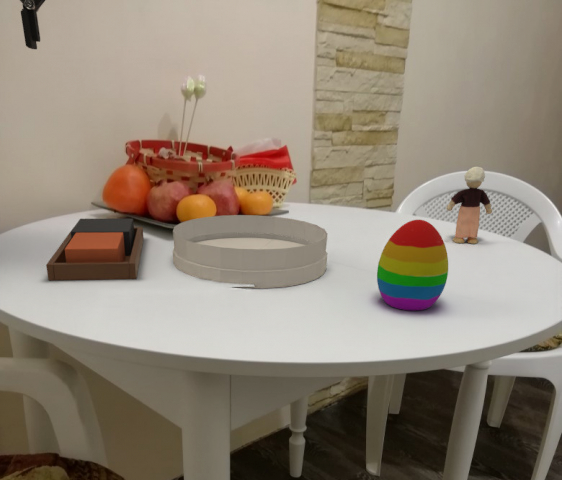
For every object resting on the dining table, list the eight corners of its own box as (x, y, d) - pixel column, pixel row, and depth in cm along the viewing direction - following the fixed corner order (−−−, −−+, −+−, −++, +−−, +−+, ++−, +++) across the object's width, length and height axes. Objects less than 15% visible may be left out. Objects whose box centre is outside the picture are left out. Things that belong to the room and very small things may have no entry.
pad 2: (68, 276, 69) (64, 248, 68) (79, 257, 77) (75, 232, 76) (120, 275, 70) (117, 248, 69) (125, 256, 78) (123, 232, 77)
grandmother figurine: (478, 239, 100) (492, 165, 94) (487, 244, 96) (503, 168, 90) (437, 239, 99) (450, 164, 93) (446, 244, 95) (459, 167, 90)
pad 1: (73, 256, 78) (70, 231, 76) (82, 241, 86) (79, 218, 84) (131, 255, 79) (129, 231, 77) (135, 240, 87) (133, 218, 86)
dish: (212, 240, 91) (211, 210, 89) (340, 255, 86) (343, 223, 84) (143, 275, 73) (140, 238, 70) (302, 297, 67) (305, 257, 65)
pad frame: (49, 285, 68) (45, 264, 67) (75, 243, 87) (73, 226, 85) (136, 283, 70) (134, 263, 68) (143, 243, 88) (142, 226, 87)
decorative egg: (399, 288, 72) (410, 210, 67) (454, 305, 66) (470, 222, 62) (360, 301, 66) (369, 217, 62) (416, 320, 61) (430, 230, 57)
